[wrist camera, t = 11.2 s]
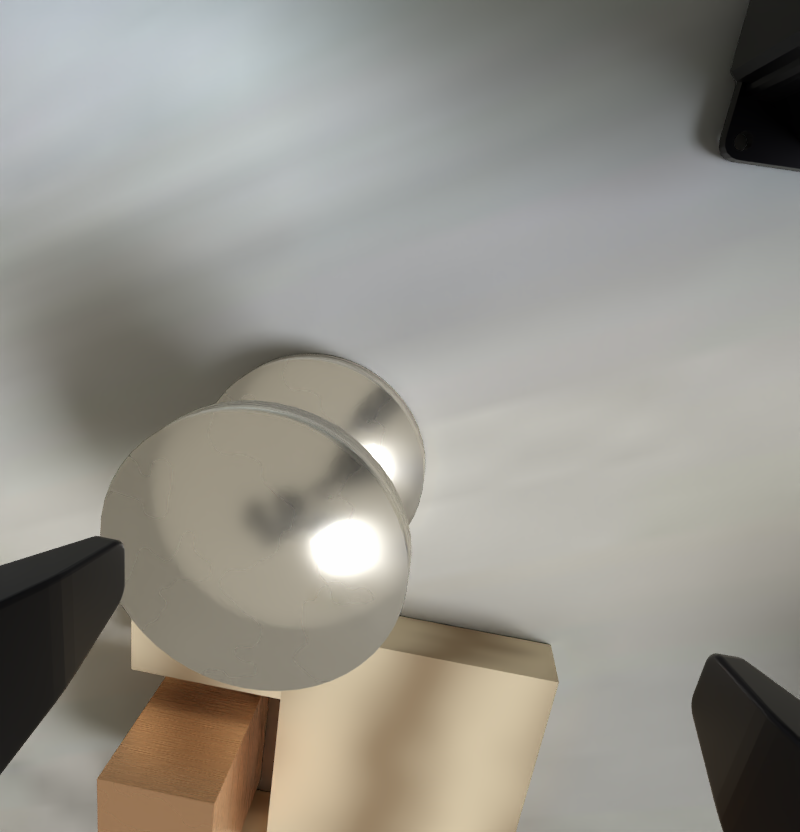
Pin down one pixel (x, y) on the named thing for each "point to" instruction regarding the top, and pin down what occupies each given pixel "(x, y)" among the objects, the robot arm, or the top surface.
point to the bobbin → (273, 525)
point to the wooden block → (186, 762)
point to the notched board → (403, 734)
